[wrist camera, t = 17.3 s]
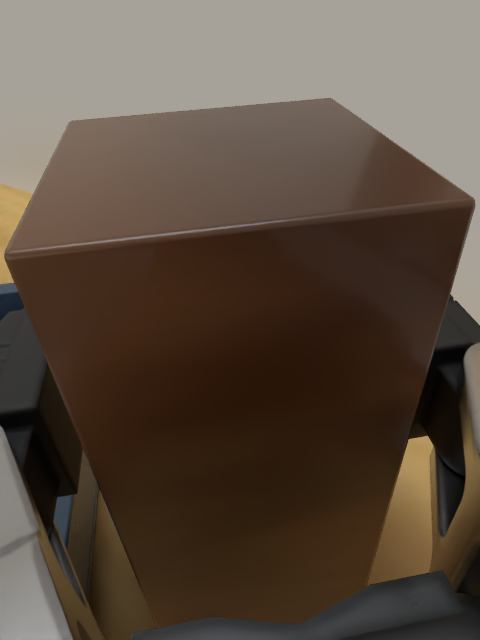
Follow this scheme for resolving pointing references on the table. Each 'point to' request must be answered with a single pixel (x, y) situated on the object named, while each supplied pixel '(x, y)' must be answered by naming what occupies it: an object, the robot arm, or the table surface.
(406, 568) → the table surface
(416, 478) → the table surface
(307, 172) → the walnut block
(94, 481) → the tool tray
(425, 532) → the table surface
